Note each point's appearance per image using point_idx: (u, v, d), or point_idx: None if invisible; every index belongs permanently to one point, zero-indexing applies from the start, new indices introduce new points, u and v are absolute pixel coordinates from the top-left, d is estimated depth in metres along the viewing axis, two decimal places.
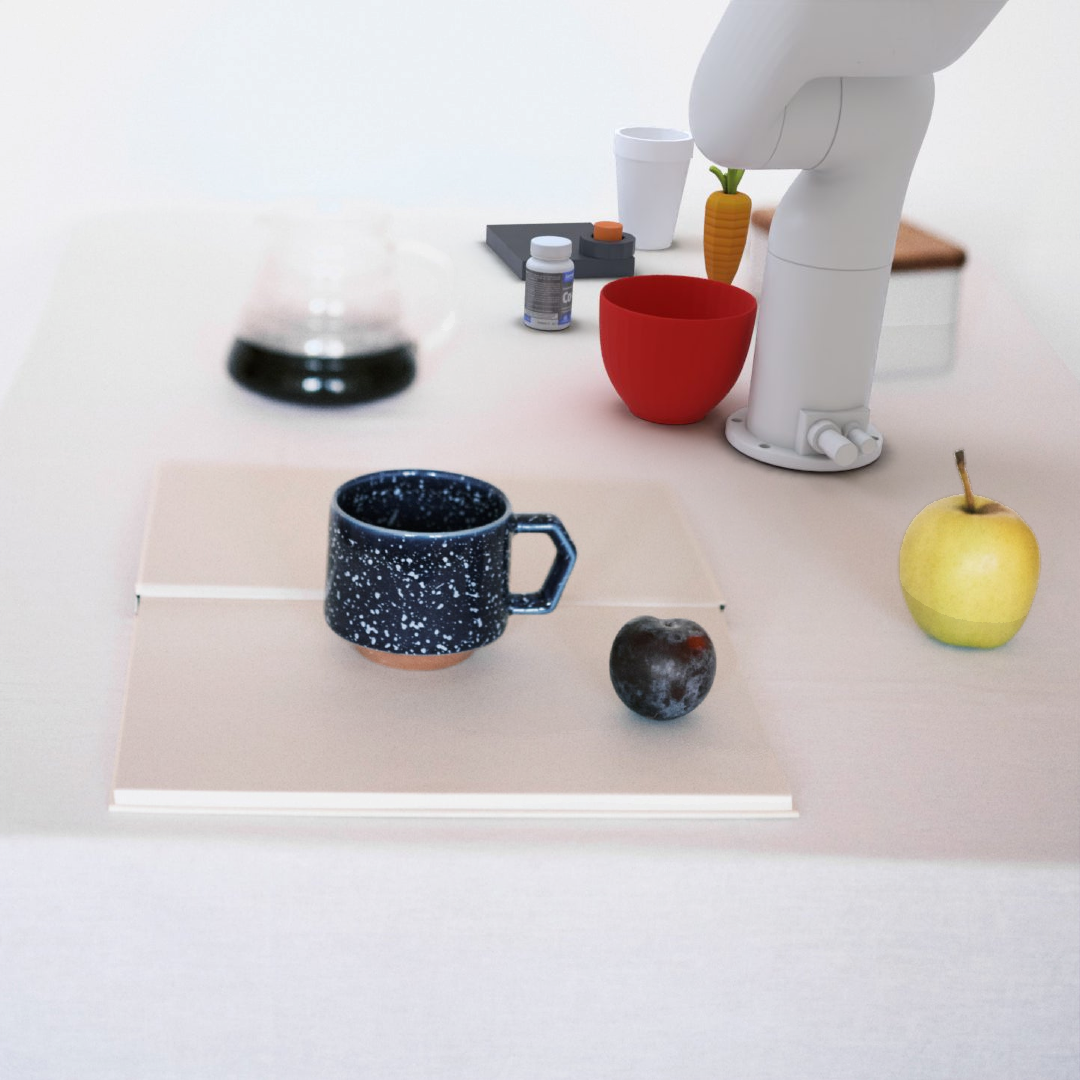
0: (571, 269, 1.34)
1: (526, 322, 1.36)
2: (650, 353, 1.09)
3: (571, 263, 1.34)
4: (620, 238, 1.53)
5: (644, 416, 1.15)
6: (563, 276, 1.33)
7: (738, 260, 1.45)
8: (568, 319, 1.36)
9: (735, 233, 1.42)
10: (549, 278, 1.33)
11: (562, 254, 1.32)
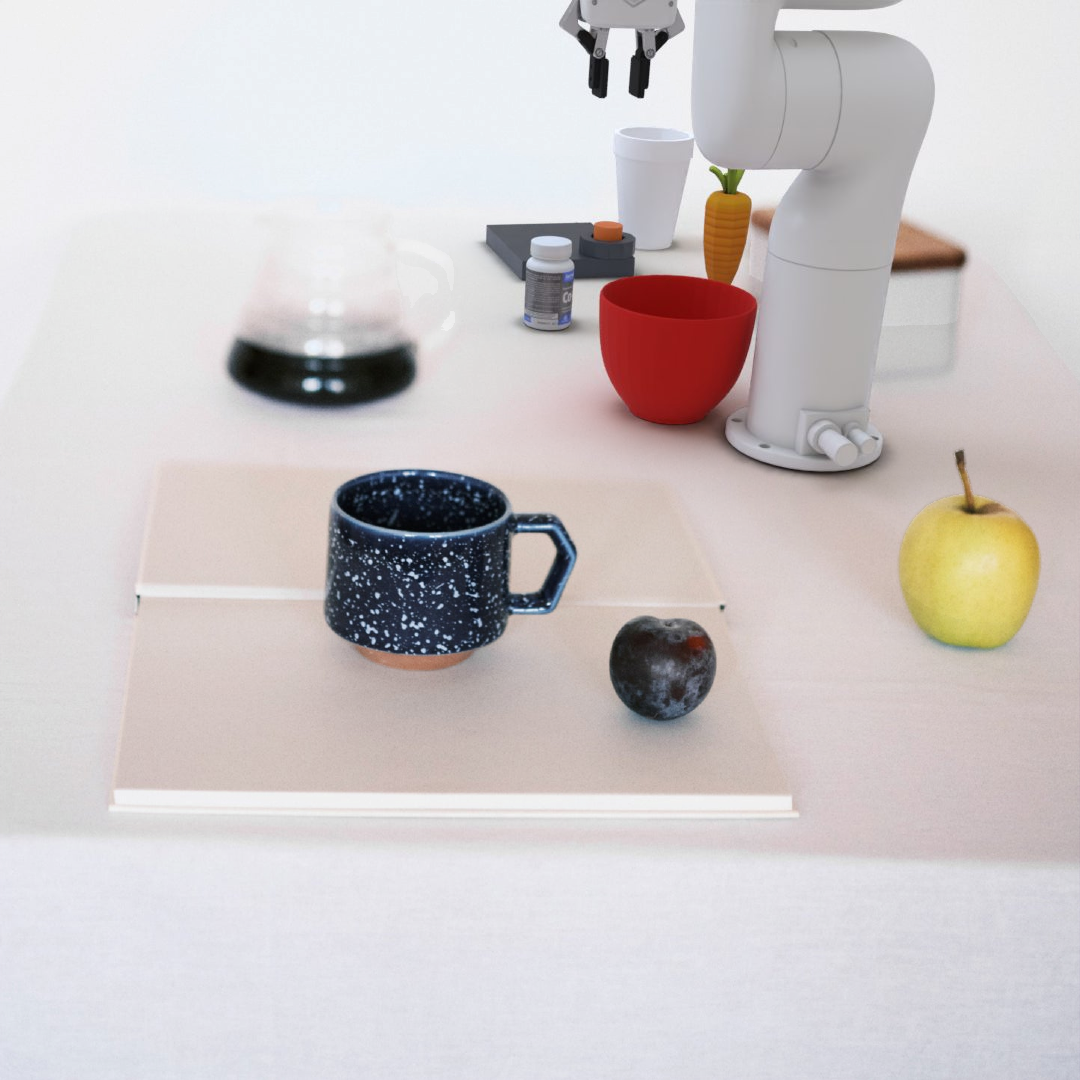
0: (572, 269, 1.34)
1: (526, 322, 1.36)
2: (650, 353, 1.09)
3: (571, 263, 1.34)
4: (620, 238, 1.53)
5: (644, 416, 1.15)
6: (563, 276, 1.33)
7: (738, 260, 1.45)
8: (568, 319, 1.36)
9: (735, 233, 1.42)
10: (549, 278, 1.33)
11: (562, 254, 1.32)
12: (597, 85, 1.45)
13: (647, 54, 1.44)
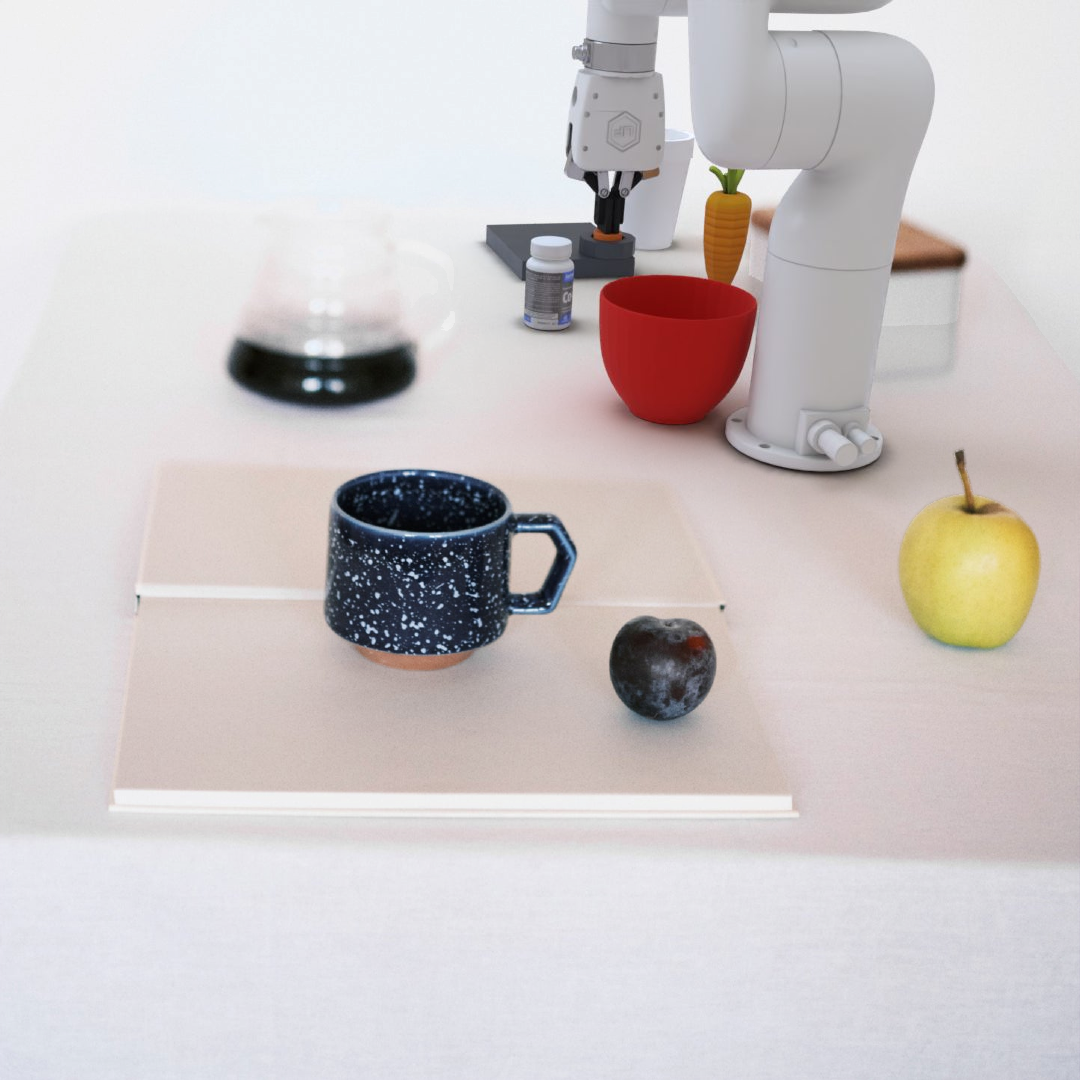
0: (572, 269, 1.34)
1: (526, 322, 1.36)
2: (650, 353, 1.09)
3: (571, 263, 1.34)
4: None
5: (644, 416, 1.15)
6: (563, 276, 1.33)
7: (738, 260, 1.45)
8: (568, 319, 1.36)
9: (735, 233, 1.42)
10: (549, 278, 1.33)
11: (562, 254, 1.32)
12: (602, 221, 1.52)
13: (622, 193, 1.50)
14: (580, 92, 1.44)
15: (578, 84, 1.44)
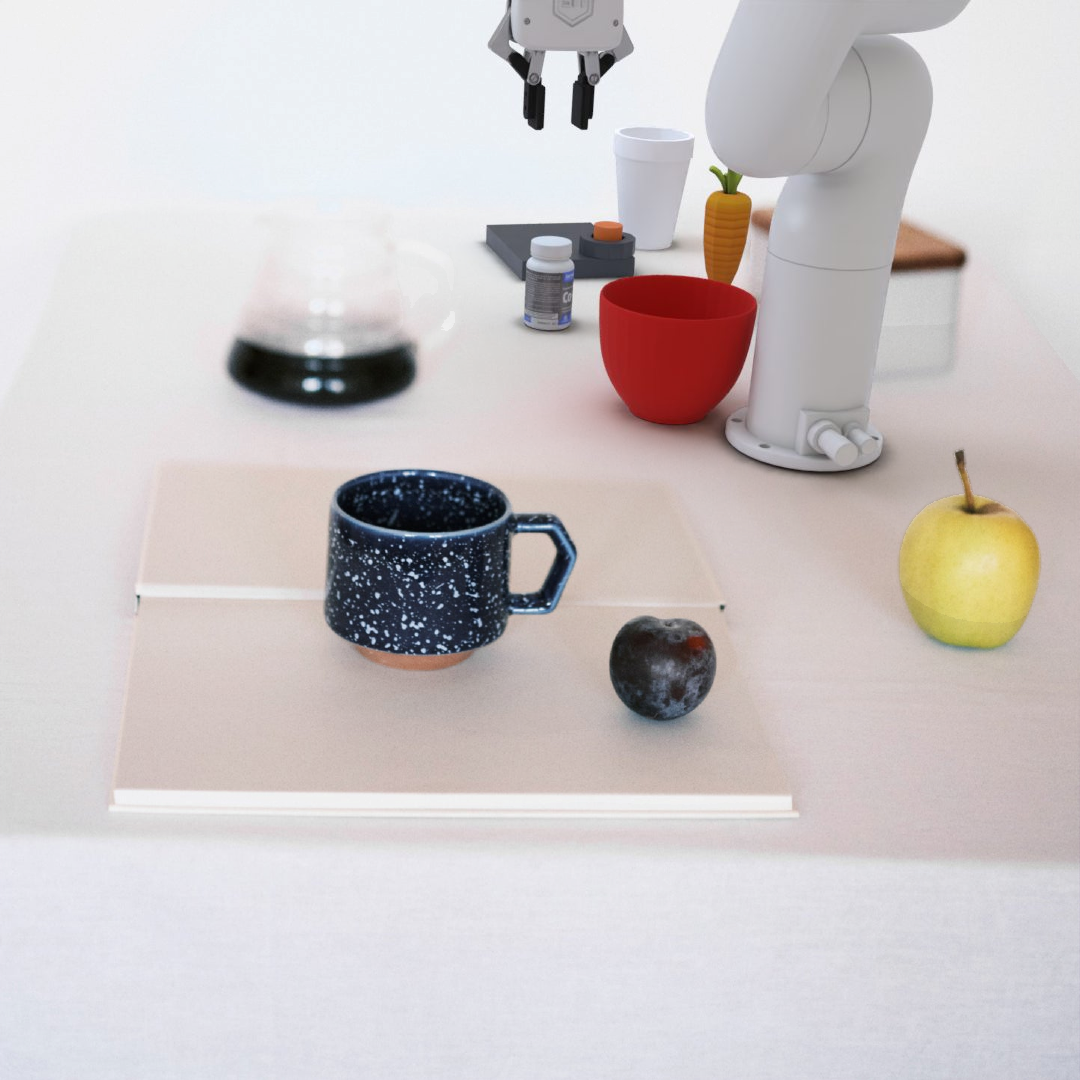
0: (572, 269, 1.34)
1: (526, 322, 1.36)
2: (650, 353, 1.09)
3: (571, 263, 1.34)
4: (620, 238, 1.53)
5: (644, 416, 1.15)
6: (563, 276, 1.33)
7: (738, 260, 1.45)
8: (568, 319, 1.36)
9: (735, 233, 1.42)
10: (549, 278, 1.33)
11: (562, 254, 1.32)
12: (533, 115, 1.27)
13: (590, 80, 1.26)
14: None
15: None
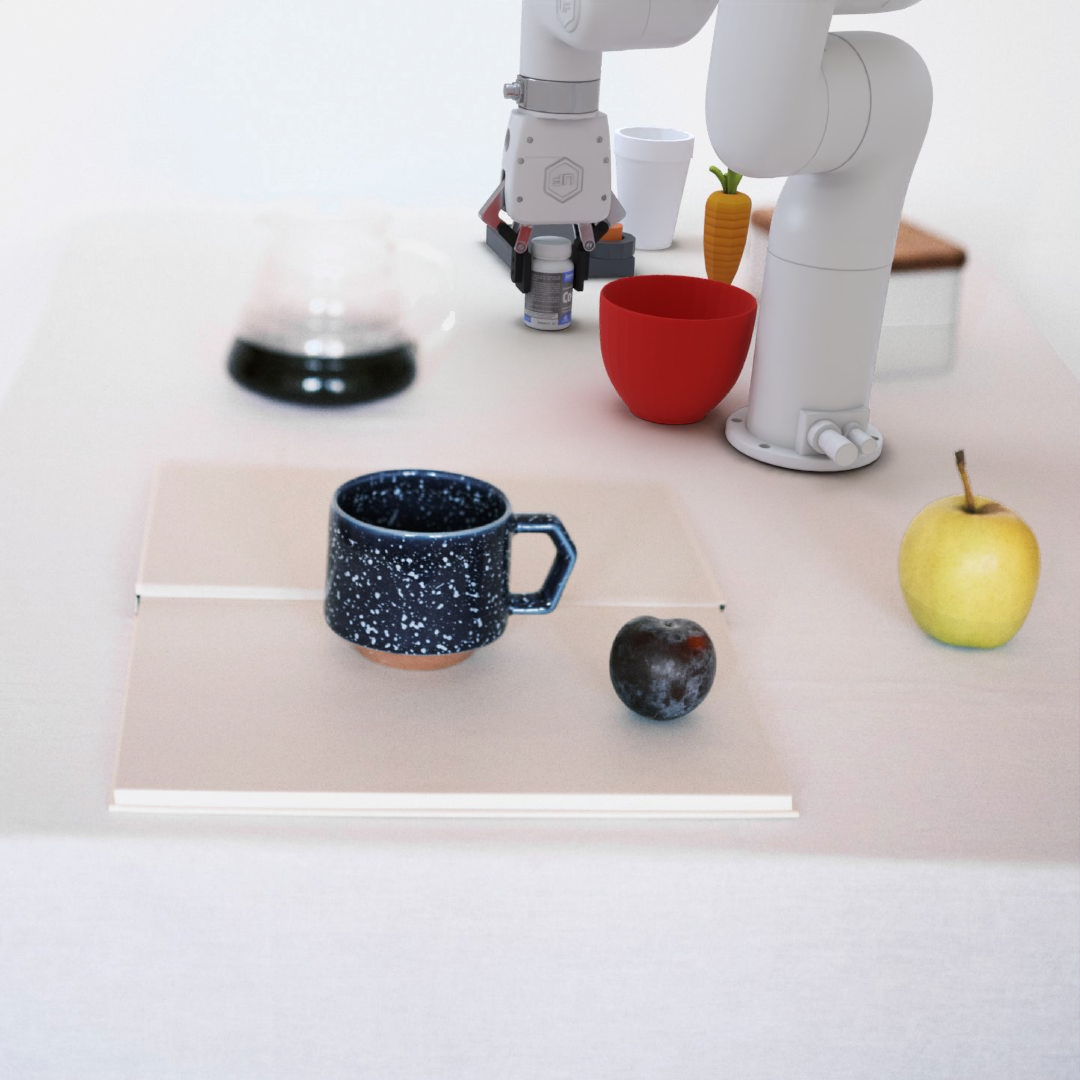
0: (571, 269, 1.34)
1: (526, 322, 1.36)
2: (650, 353, 1.09)
3: (571, 263, 1.34)
4: (620, 238, 1.53)
5: (644, 416, 1.15)
6: (563, 276, 1.33)
7: (738, 260, 1.45)
8: (568, 319, 1.36)
9: (735, 233, 1.42)
10: (549, 278, 1.33)
11: (562, 253, 1.32)
12: (520, 279, 1.33)
13: (586, 246, 1.33)
14: (513, 136, 1.26)
15: (511, 126, 1.27)
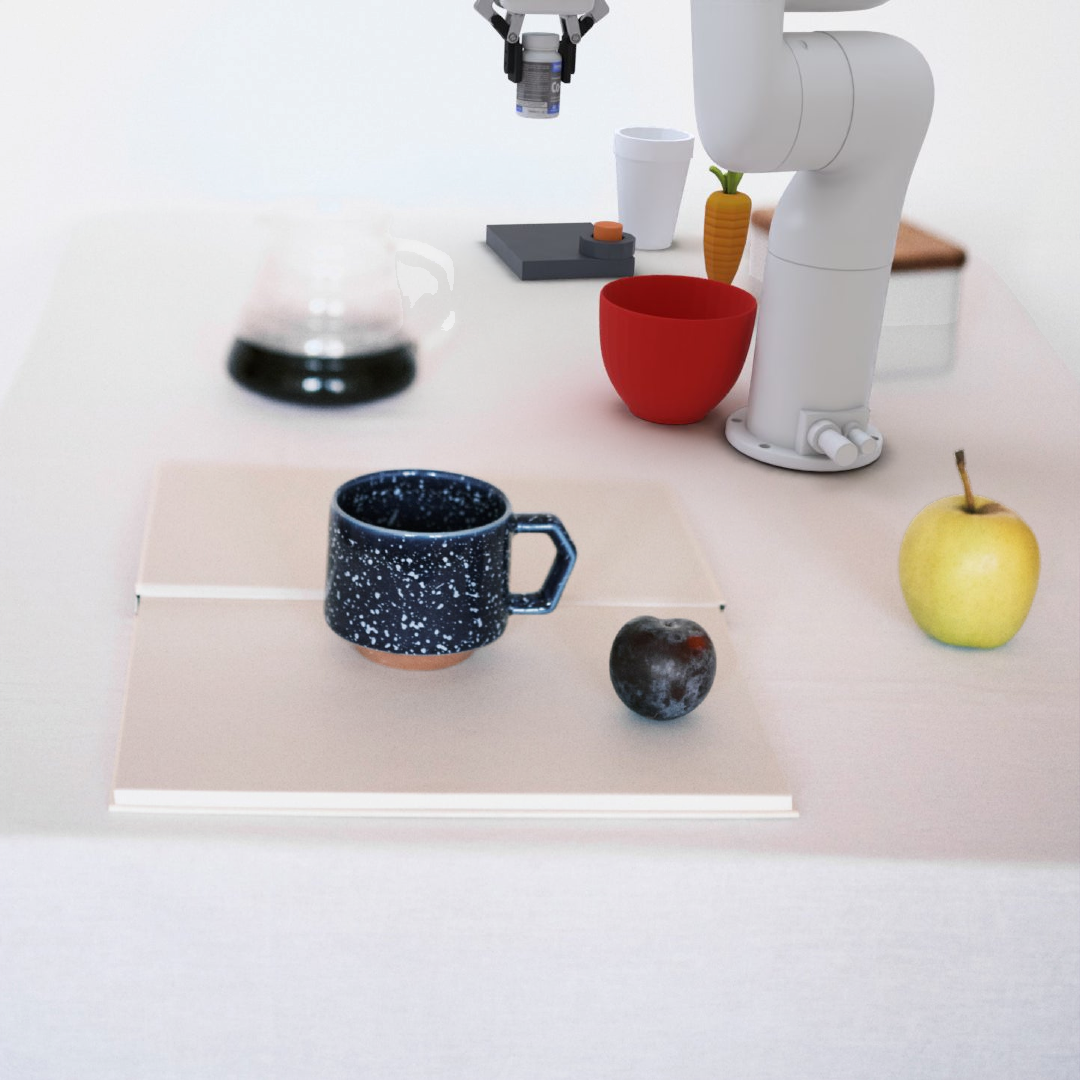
0: (559, 61, 1.45)
1: (518, 112, 1.48)
2: (650, 353, 1.09)
3: (559, 55, 1.46)
4: (620, 238, 1.53)
5: (644, 416, 1.15)
6: (551, 66, 1.45)
7: (738, 260, 1.45)
8: (557, 109, 1.47)
9: (735, 233, 1.42)
10: (539, 67, 1.44)
11: (551, 44, 1.44)
12: (512, 70, 1.45)
13: (572, 39, 1.45)
14: None
15: None
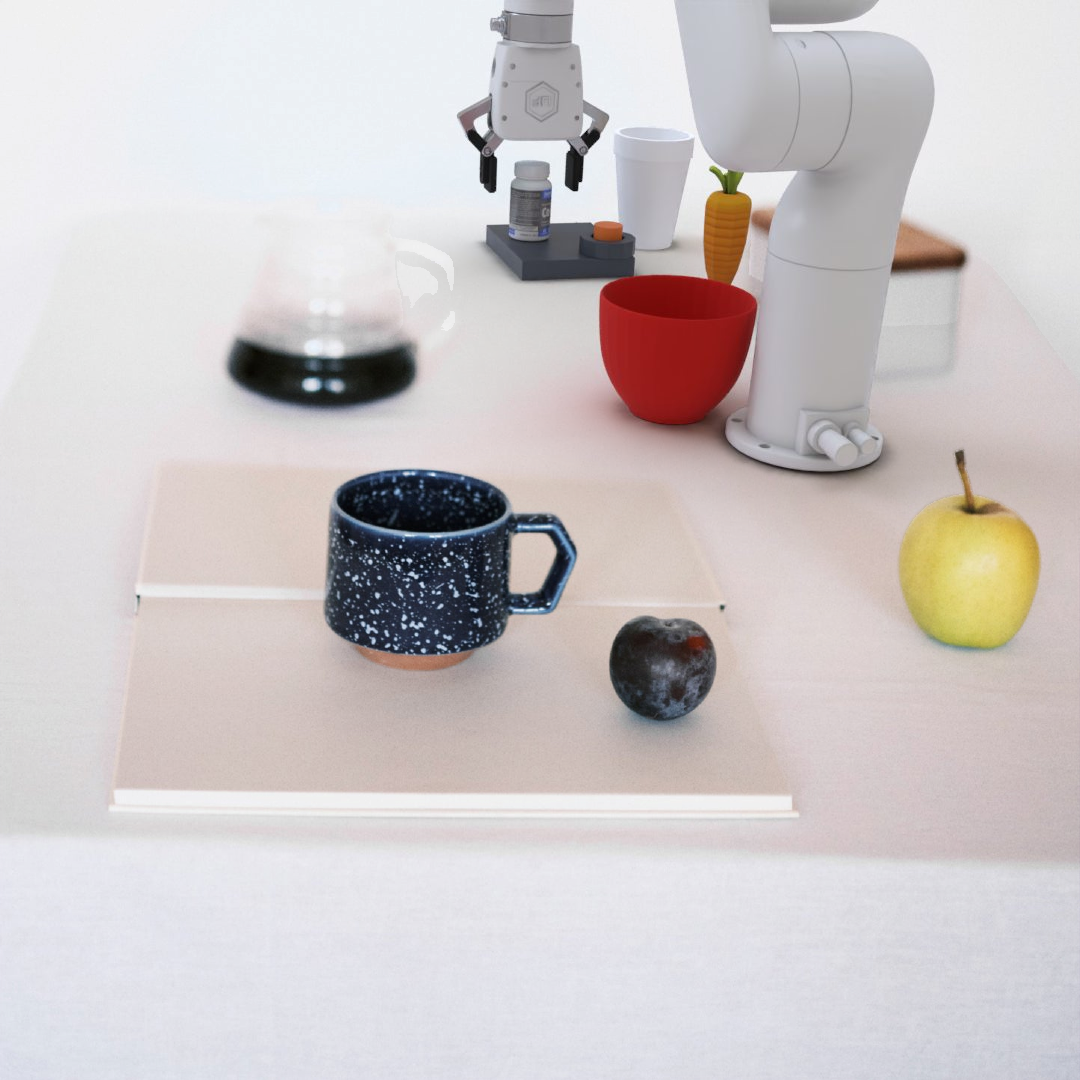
0: (549, 188, 1.55)
1: (511, 235, 1.57)
2: (650, 353, 1.09)
3: (549, 182, 1.55)
4: (620, 238, 1.53)
5: (644, 416, 1.15)
6: (542, 193, 1.54)
7: (738, 260, 1.45)
8: (547, 232, 1.57)
9: (735, 233, 1.42)
10: (530, 195, 1.54)
11: (541, 174, 1.54)
12: (487, 180, 1.54)
13: (580, 151, 1.55)
14: (498, 63, 1.47)
15: (496, 55, 1.48)
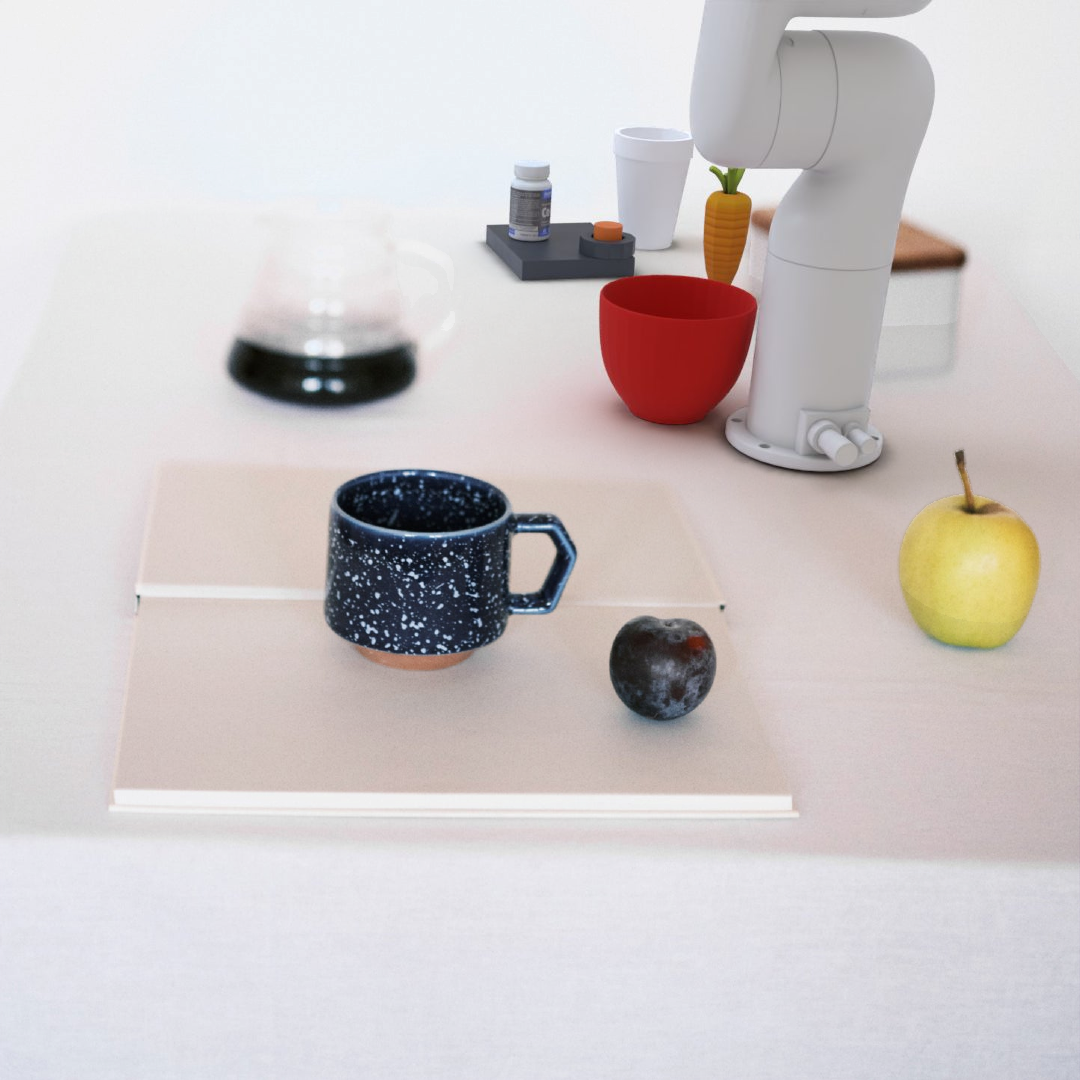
0: (549, 188, 1.55)
1: (511, 235, 1.57)
2: (650, 353, 1.09)
3: (549, 182, 1.55)
4: (620, 238, 1.53)
5: (644, 416, 1.15)
6: (542, 193, 1.54)
7: (738, 260, 1.45)
8: (547, 232, 1.57)
9: (735, 233, 1.42)
10: (530, 195, 1.54)
11: (541, 174, 1.54)
12: None
13: None
14: None
15: None
